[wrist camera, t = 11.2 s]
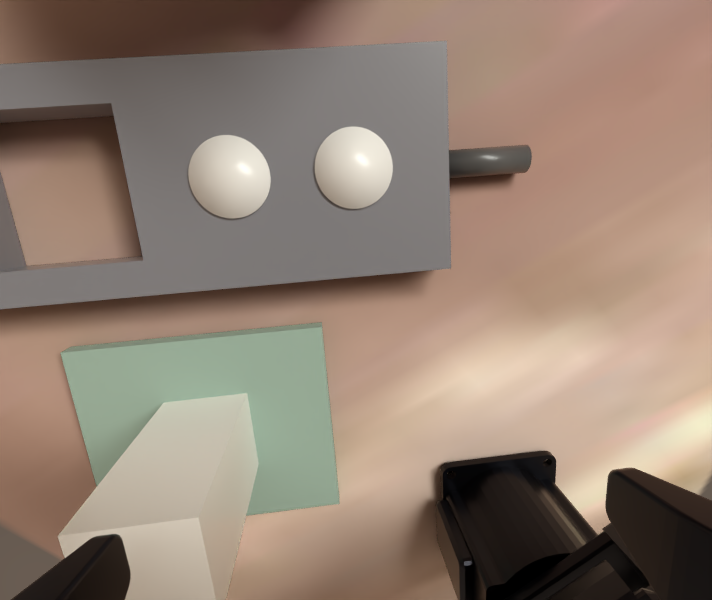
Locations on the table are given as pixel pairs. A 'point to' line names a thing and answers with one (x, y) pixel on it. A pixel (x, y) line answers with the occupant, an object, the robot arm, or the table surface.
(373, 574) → the table surface
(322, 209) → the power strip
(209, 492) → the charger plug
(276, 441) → the green mat
